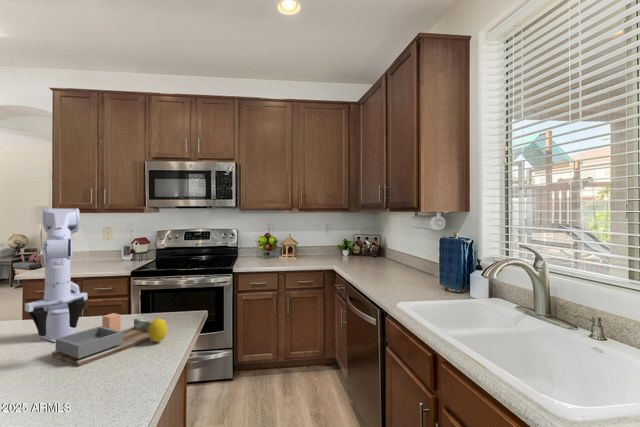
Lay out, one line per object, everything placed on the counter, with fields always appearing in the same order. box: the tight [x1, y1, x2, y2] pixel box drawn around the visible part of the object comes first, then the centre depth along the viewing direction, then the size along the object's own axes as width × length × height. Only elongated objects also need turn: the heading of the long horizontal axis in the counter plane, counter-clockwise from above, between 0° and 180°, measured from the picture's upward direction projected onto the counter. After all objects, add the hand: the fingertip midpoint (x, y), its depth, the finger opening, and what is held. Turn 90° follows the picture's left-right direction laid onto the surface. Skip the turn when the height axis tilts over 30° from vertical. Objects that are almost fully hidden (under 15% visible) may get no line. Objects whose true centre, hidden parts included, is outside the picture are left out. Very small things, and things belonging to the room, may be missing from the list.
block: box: [101, 312, 121, 331], centre depth 124 cm, size 4×4×6 cm
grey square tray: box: [55, 325, 123, 359], centre depth 105 cm, size 12×13×4 cm
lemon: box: [149, 317, 168, 344], centre depth 114 cm, size 6×6×8 cm
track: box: [51, 317, 153, 367], centre depth 111 cm, size 14×27×4 cm, turn 152°
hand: (58, 331), depth 97 cm, fingers open, 7 cm apart
